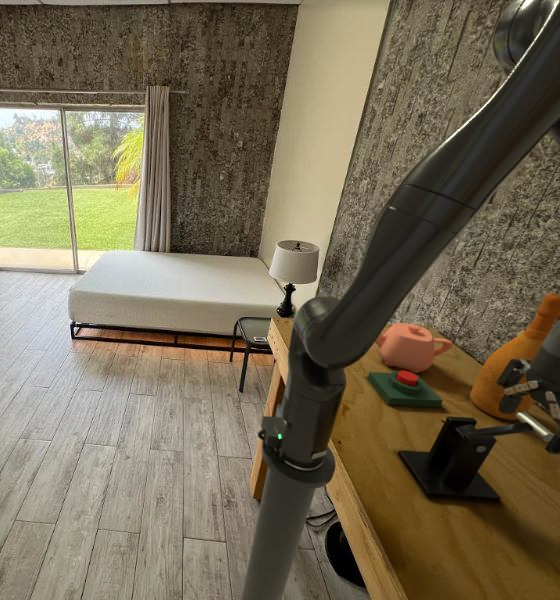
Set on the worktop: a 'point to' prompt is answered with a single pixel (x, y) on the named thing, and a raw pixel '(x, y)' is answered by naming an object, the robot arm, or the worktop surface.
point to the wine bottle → (522, 347)
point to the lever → (506, 428)
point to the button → (407, 378)
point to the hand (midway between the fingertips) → (527, 430)
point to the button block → (403, 391)
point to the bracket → (453, 464)
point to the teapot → (410, 347)
